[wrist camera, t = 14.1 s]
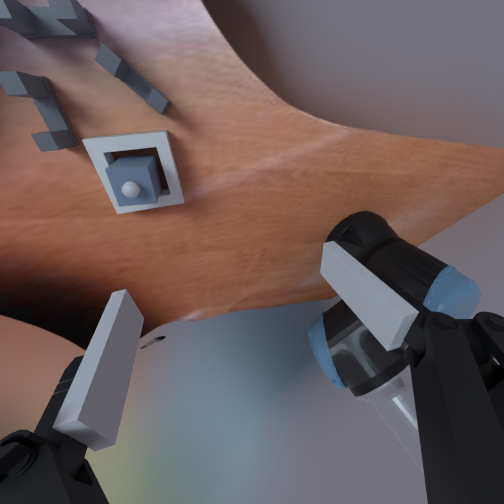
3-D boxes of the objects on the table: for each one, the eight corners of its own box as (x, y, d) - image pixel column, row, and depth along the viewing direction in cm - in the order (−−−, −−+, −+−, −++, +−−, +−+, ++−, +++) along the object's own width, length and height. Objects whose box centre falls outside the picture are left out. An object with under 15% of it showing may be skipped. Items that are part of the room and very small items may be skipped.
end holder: (184, 196, 32) (184, 203, 30) (122, 206, 30) (117, 213, 28) (166, 129, 27) (165, 131, 25) (91, 137, 25) (81, 139, 23)
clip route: (179, 135, 28) (178, 138, 24) (63, 146, 25) (40, 152, 21) (150, 12, 21) (143, -11, 17) (-10, 10, 19) (-62, -17, 15)
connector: (154, 154, 28) (145, 169, 21) (162, 184, 30) (156, 206, 23) (122, 155, 27) (101, 172, 20) (132, 186, 29) (116, 210, 22)
